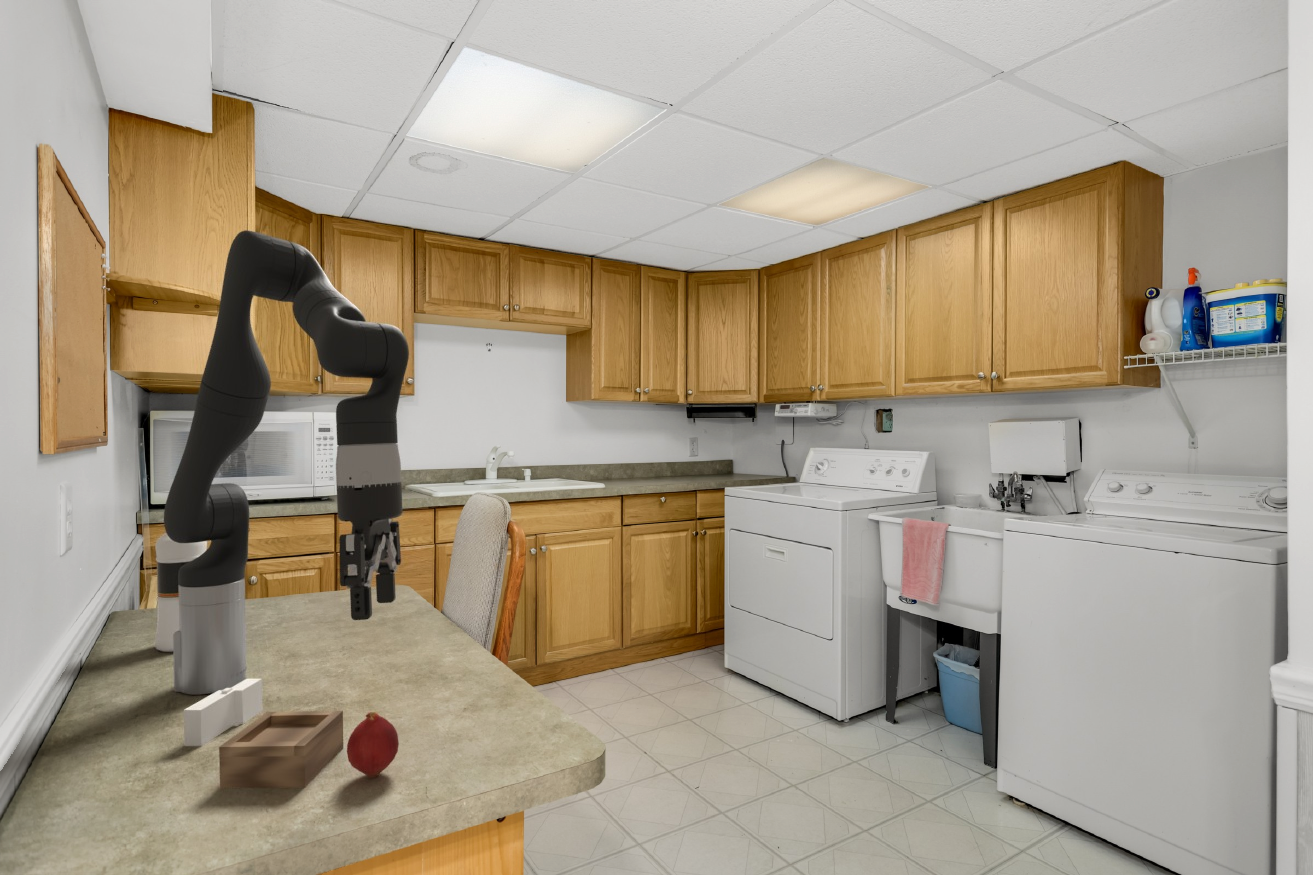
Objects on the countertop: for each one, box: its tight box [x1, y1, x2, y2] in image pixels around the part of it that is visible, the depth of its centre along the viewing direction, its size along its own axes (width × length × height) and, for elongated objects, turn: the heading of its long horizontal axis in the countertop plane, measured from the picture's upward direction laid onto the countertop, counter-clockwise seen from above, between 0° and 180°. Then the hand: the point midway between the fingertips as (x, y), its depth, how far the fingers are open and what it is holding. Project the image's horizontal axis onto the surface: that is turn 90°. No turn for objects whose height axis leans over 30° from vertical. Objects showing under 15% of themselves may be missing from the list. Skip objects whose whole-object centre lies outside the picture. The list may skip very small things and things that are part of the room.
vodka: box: [154, 532, 208, 653], centre depth 135 cm, size 9×9×30 cm
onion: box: [346, 710, 400, 778], centre depth 83 cm, size 6×6×8 cm
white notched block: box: [183, 678, 264, 747], centre depth 98 cm, size 15×11×6 cm
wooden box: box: [218, 710, 344, 789], centre depth 86 cm, size 10×10×5 cm
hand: (374, 610), depth 86 cm, fingers open, 8 cm apart
